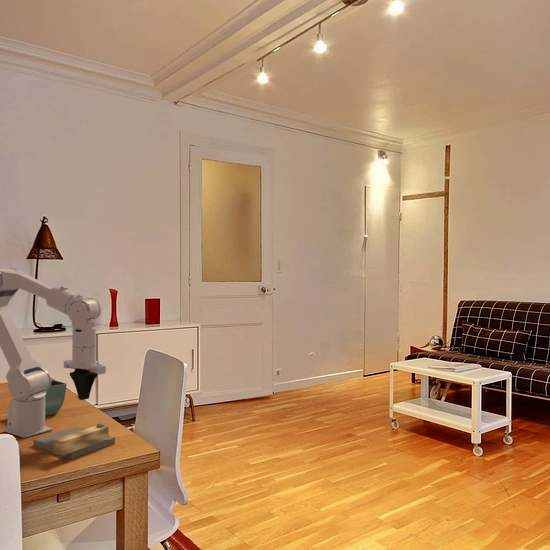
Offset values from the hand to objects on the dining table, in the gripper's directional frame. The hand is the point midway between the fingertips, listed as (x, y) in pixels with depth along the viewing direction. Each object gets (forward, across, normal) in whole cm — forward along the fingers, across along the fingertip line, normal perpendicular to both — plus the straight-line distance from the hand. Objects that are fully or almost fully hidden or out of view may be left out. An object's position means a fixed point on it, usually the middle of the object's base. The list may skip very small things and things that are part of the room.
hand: (83, 399), depth 129 cm
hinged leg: (+8, -10, +8) cm, 15 cm away
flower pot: (+10, +26, -6) cm, 28 cm away
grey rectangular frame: (+9, -4, +6) cm, 12 cm away
